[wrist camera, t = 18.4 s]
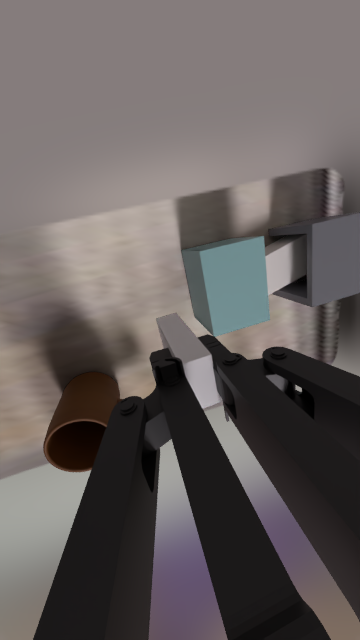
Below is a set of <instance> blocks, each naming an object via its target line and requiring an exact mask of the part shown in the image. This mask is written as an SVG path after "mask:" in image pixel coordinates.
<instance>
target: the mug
mask: <svg viewBox="0 0 360 640" xmlns="http://www.w3.org/2000/svg"><path fill="white" fill-rule="evenodd" d="M121 400H123V399H120V392H119V388H118V385H117V384H116V382H115V381H114V380H113V379H112V378H111V377H109V376H108V375H105V374H103V373H99V372H89V373H84V374H81V375H79V376H77V377H75V378H74V379H73V380H71V381H70V383H69V384H68V385H67V386H66V388H65V390H64V392H63V394H62V397H61V399H60V401H59V404H58V406H57V408H56V410H55V413H54V415H53V418H52V420H51V422H50V425H49V427H48V431H47V434H46V437H45V441H44V446H43V448H44V454H45V457H46V459H47V460H48V461H49V462H50V463H51V464H52V465H53V466H55V467H56V468H58V469H61V470H64V471H68V472H84V471H89V470H92V467H93V464H94V461H95V458H96V456H97V453H98V450H99V447H100V444H101V441H102V438H103V435H104V432H105V429H106V427H107V424H108V421H109V418H110V415H111V412H112V410H113V408H114V406H115V405H116V404H117V403H118V402H120V401H121Z"/></svg>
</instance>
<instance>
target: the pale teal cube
mask: <svg viewBox="0 0 360 640" xmlns="http://www.w3.org/2000/svg"><path fill="white" fill-rule="evenodd" d="M181 251H182V256H183V261H184V266H185V271H186V276H187V281H188V286H189V291H190V296H191V301H192V306H193V311H194V316H195V318H196V319H197V320H198V321H199V322H200V323H201V324H202V325H203V326H204V327H205V328H206V329H207V330H208V331H209V332H210V333H211V334H212V335H213V336H214V337H216V336H219V335H222V334H225V333H229V332H232V331H235V330H239V329H242V328H245V327H249V326H252V325H255V324H258V323H262V322H265V321H268V320H270V315H269V301H268V287H267V273H266V258H265V244H264V236H256V237H242V238H230V239H226V240H222V241H218V242H213V243H209V244H205V245H201V246H197V247H192V248H188V249H184V250H181Z"/></svg>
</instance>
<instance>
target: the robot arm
mask: <svg viewBox="0 0 360 640" xmlns="http://www.w3.org/2000/svg"><path fill="white" fill-rule="evenodd" d="M156 321H157V324H158V328H159V332H160V336H161V339H162V343H163V347H164V349H162V350H159V351H155V352H152V353H151V356H150V362H151V365H152V371H153V375H154V378H155V381H156V388H155V390H154V391H153V392H152V393H151V394H150V395H149V396H148V397H146V398H145V399H142V398H141V397H138V396H131V397H128V398H125V399H123V400H121V401H120V402H118V403H117V404H116V405H115V406H114V408H113V410H112V412H111V415H110V418H109V421H108V424H107V427H106V429H105V432H104V435H103V438H102V441H101V444H100V447H99V450H98V453H97V456H96V458H95V461H94V464H93V467H92V470H91V473H90V476H89V479H88V482H87V485H86V487H85V490H84V493H83V496H82V499H81V502H80V505H79V508H78V511H77V514H76V516H75V519H74V522H73V525H72V528H71V531H70V534H69V537H68V540H67V543H66V546H65V549H64V551H63V554H62V557H61V560H60V563H59V566H58V569H57V572H56V574H55V577H54V580H53V583H52V586H51V589H50V592H49V595H48V598H47V601H46V604H45V606H44V610H43V612H42V615H41V618H40V621H39V624H38V627H37V630H36V633H35V635H34V638H33V640H148V637H149V636H148V635H149V620H150V605H151V589H152V573H153V557H154V540H155V524H156V509H157V493H158V477H159V460H160V447H161V446H163V445H164V444H165V443H166V442H168V441H169V440H170V439H172V442H173V445H174V449H175V452H176V456H177V459H178V463H179V467H180V470H181V473H182V477H183V481H184V484H185V488H186V492H187V495H188V498H189V502H190V506H191V509H192V513H193V517H194V520H195V524H196V527H197V531H198V534H199V538H200V541H201V545H202V549H203V552H204V556H205V559H206V563H207V566H208V570H209V573H210V577H211V581H212V584H213V587H214V592H215V595H216V599H217V602H218V605H219V609H220V613H221V617H222V620H223V624H224V627H225V631H226V634H227V638H228V640H331V639H330V637H329V635H328V634H327V632H326V630H325V629H324V627H323V625H322V623H321V622H320V620H319V619H318V617H317V616H316V614H315V613H314V611H313V610H312V609H311V608H310V607H309V606H308V605H307V604H306V603H305V601H303V599H302V598H301V596H300V595H299V593H298V592H297V590H296V588H295V586H294V585H293V583H292V581H291V579H290V577H289V575H288V573H287V571H286V570H285V567H284V565H283V564H282V562H281V560H280V558H279V556H278V554H277V552H276V550H275V548H274V546H273V544H272V542H271V540H270V538H269V536H268V535H267V533H266V531H265V529H264V527H263V525H262V523H261V521H260V519H259V517H258V515H257V513H256V511H255V510H254V507H253V506H252V504H251V502H250V500H249V498H248V496H247V494H246V492H245V490H244V488H243V487H242V484H241V483H240V480H239V478H238V477H237V475H236V473H235V471H234V469H233V467H232V465H231V463H230V462H229V459H228V457H227V455H226V453H225V451H224V449H223V448H222V446H221V444H220V442H219V440H218V438H217V436H216V434H215V432H214V430H213V428H212V426H211V424H210V422H209V420H208V419H207V417H206V415H205V413H204V411H203V408H206V407H208V406H211V405H214V404H216V403H219V402H220V399H219V395H220V396H221V398H222V399H223V405H224V411H225V416H226V420H227V422H228V421H229V417H230V418H231V419H232V421H233V423H234V424H235V426H236V427H237V429H238V430H239V432H240V434H241V435H242V437H243V438H244V440H245V441H246V443H247V445H248V446H249V448H250V449H251V451H252V452H253V454H254V455H255V457H256V459H257V460H258V462H259V463H260V465H261V466H262V468H263V470H264V471H265V473H266V474H267V476H268V477H269V479H270V480H271V482H272V484H273V485H274V487H275V488H276V490H277V491H278V493H279V494H280V496H281V498H282V499H283V501H284V502H285V504H286V505H287V507H288V509H289V510H290V512H291V513H292V515H293V516H294V518H295V519H296V521H297V522H298V524H299V526H300V527H301V529H302V530H303V532H304V534H305V535H306V537H307V538H308V540H309V541H310V543H311V544H312V546H313V548H314V549H315V551H316V552H317V554H318V555H319V557H320V558H321V560H322V561H323V563H324V564H325V566H326V568H327V569H328V571H329V572H330V574H331V576H332V577H333V579H334V580H335V581H336V583H337V585H338V587H339V588H340V590H341V591H342V593H343V594H344V596H345V597H346V599H347V601H348V602H349V604H350V605H351V607H352V609H353V610H354V612H355V614H356V615H357V617H358V619H359V621H360V377H359V376H357V375H354V374H351V373H349V372H346V371H344V370H341V369H339V368H336V367H334V366H331V365H329V364H326V363H324V362H321V361H318V360H316V359H313V358H311V357H308V356H306V355H303V354H301V353H298V352H296V351H293V350H291V349H288V348H284V347H271V348H268V349H266V350H265V351H264V352H263V354H262V356H263V358H261V359H253V360H247V359H246V358H245V357H244V356H242V355H240V354H237V353H231V352H230V351H229V350H228V349H227V348H226V347H224V346H223V345H222V344H221V343H220V342H219V341H218V340H217V339H216V338H215V337H214V336H211V335H204V336H201V337H198V338H197V337H196V336H195V334H194V333H193V332H192V331H191V330H190V328H189V327H188V326H187V325H186V324H185V323H184V321H183V320H182V319H181V318H180V317H179V315H178V314H177V313H173V314H170V315H166V316H163V317H159V318H156ZM295 384H296V385H297V386H299V387H301V388H302V392H299V391H297V390H295ZM228 416H229V417H228Z"/></svg>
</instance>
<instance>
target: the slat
mask: <svg viewBox="0 0 360 640" xmlns="http://www.w3.org/2000/svg"><path fill="white" fill-rule="evenodd" d="M265 258H266V273H267V287H268V295H270V294H272V293H273V292H275V291H277V290H279V289H281V288H282V287H284V286H286V285H288V284H290V283H291V282H293V281H295V280H297V279H299V278H301V277H302V276H304V275H306V274H307V234H293V235H287V236H285V237H283V238H281V239H279V240H277V241H275V242H274V243H272V244H270V245H268V246H266V247H265Z"/></svg>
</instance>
